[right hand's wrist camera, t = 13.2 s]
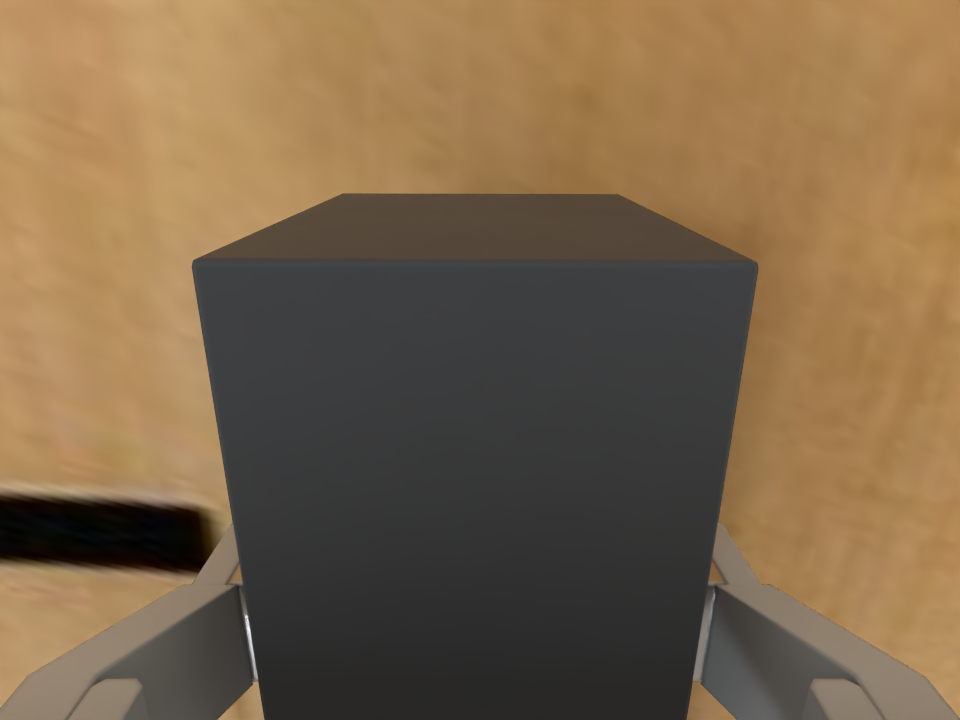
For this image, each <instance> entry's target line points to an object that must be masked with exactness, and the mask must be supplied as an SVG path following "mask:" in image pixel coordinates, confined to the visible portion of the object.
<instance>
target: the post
mask: <svg viewBox="0 0 960 720" xmlns="http://www.w3.org/2000/svg"><path fill="white" fill-rule="evenodd" d="M192 271H193V277H194V284H195V290H196V296H197V302H198V308H199V315H200V321H201V327H202V333H203V340H204V346H205V352H206V358H207V365H208V371H209V377H210V383H211V389H212V396H213V402H214V408H215V414H216V421H217V427H218V433H219V439H220V445H221V452H222V458H223V464H224V470H225V477H226V483H227V489H228V495H229V502H230V508H231V514H232V520H233V526H234V533H235V539H236V545H237V551H238V558H239V564H240V570H241V576H242V582H243V589H244V595H245V601H246V607H247V614H248V620H249V626H250V632H251V639H252V645H253V651H254V657H255V663H256V670H257V676H258V682H259V688H260V695H261V701H262V707H263V713H264V719H265V720H686V719H687V713H688V706H689V700H690V694H691V688H692V681H693V675H694V669H695V663H696V656H697V650H698V644H699V638H700V631H701V625H702V619H703V612H704V606H705V600H706V594H707V587H708V581H709V575H710V569H711V562H712V556H713V550H714V543H715V537H716V531H717V525H718V518H719V512H720V506H721V500H722V493H723V487H724V481H725V474H726V468H727V462H728V456H729V449H730V443H731V437H732V431H733V424H734V418H735V412H736V405H737V399H738V393H739V387H740V380H741V374H742V368H743V362H744V355H745V349H746V343H747V337H748V330H749V324H750V318H751V311H752V305H753V299H754V293H755V286H756V280H757V274H758V265H757V262H755V261H753V260H751V259H749V258H747V257H745V256H743V255H741V254H739V253H737V252H735V251H733V250H731V249H728V248H726V247H724V246H722V245H720V244H718V243H716V242H714V241H712V240H710V239H708V238H706V237H704V236H702V235H700V234H698V233H696V232H694V231H692V230H690V229H688V228H686V227H684V226H682V225H679V224H677V223H675V222H673V221H671V220H669V219H667V218H665V217H663V216H661V215H659V214H657V213H655V212H653V211H651V210H649V209H647V208H645V207H643V206H641V205H639V204H637V203H635V202H633V201H630V200H628V199H626V198H624V197H622V196H620V195H618V194H341V195H339V196H337V197H334V198H332V199H330V200H328V201H325V202H323V203H321V204H319V205H316V206H314V207H312V208H310V209H307V210H305V211H303V212H301V213H298V214H296V215H294V216H292V217H289V218H287V219H285V220H283V221H280V222H278V223H276V224H274V225H271V226H269V227H267V228H265V229H262V230H260V231H258V232H256V233H253V234H251V235H249V236H247V237H244V238H242V239H240V240H238V241H235V242H233V243H231V244H229V245H226V246H224V247H222V248H220V249H217V250H215V251H213V252H211V253H208V254H206V255H204V256H202V257H199V258H197V259H195V260H193V263H192Z"/></svg>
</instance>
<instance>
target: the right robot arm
mask: <svg viewBox="0 0 960 720" xmlns="http://www.w3.org/2000/svg"><path fill="white" fill-rule="evenodd" d="M252 681H258V676H257V670H256V663H255V657H254V651H253V645H252V639H251V632H250V626H249V620H248V614H247V607H246V601H245V595H244V589H243V582H242V576H241V570H240V564H239V558H238V551H237V545H236V539H235V533H234V526H233V524H231V525H230V526H229V528H228V529H227V531H226V532H225V534H224V535H223V537H222V538H221V540H220V542H219V543H218V545H217V546H216V548H215V549H214V551H213V552H212V554H211V556H210V557H209V559H208V560H207V562H206V563H205V565H204V566H203V568H202V570H201V571H200V573H199V574H198V576H197V577H196V579H195V580H194V582H193V584H192V585H181V586H180V587H178V588H176V589H174V590H173V591H171V592H169V593H168V594H166V595H164V596H163V597H161V598H159V599H157V600H156V601H154V602H152V603H151V604H149V605H147V606H145V607H144V608H142V609H140V610H139V611H137V612H135V613H134V614H132V615H130V616H128V617H127V618H125V619H123V620H122V621H120V622H118V623H117V624H115V625H113V626H111V627H110V628H108V629H106V630H105V631H103V632H101V633H100V634H98V635H96V636H94V637H93V638H91V639H89V640H88V641H86V642H84V643H82V644H81V645H79V646H77V647H76V648H74V649H72V650H71V651H69V652H67V653H65V654H64V655H62V656H60V657H59V658H57V659H55V660H54V661H52V662H50V663H48V664H47V665H45V666H43V667H42V668H40V669H38V670H36V671H35V672H33V673H31V674H30V675H28V676H27V677H26V678H25V679H24V681H23V682H22V683H21V684H20V685H19V687H18V688H17V689H16V690H15V691H14V693H13V694H12V695H11V696H10V697H9V699H8V700H7V701H6V702H5V703H4V705H3V706H2V707H1V708H0V720H217V719H218V718H219V717H220V716H221V715H222V714H223V713H224V712H225V711H226V710H227V709H228V708H229V707H230V706H231V705H232V704H233V703H234V702H235V701H236V700H238V699H239V698H240V697H241V696H242V695H243V694H244V693H245V692H246V691H247V690H248V689H249V688H250V687H251V686H252V685H253V683H252ZM693 681H701V684H702V685H703V686H704V687H705V688H706V689H707V690H708V691H709V692H710V693H711V694H712V695H713V696H714V697H715V698H716V699H717V700H718V701H719V702H720V703H721V704H722V705H723V706H724V707H725V708H726V709H727V710H728V711H729V712H730V713H731V714H732V715H733V716H734V717H735V718H736V719H737V720H960V718H959V717H958V716H957V714H956V713H955V712H954V711H953V710H952V708H951V707H950V706H949V705H948V703H947V702H946V701H945V700H944V699H943V697H942V696H941V695H940V694H939V692H938V691H937V690H936V689H935V688H934V686H933V685H932V684H931V683H930V681H929V680H928V679H927V678H926V677H925V676H924V675H922V674H920V673H919V672H917V671H915V670H913V669H912V668H910V667H908V666H907V665H905V664H903V663H902V662H900V661H898V660H897V659H895V658H893V657H892V656H890V655H888V654H887V653H885V652H883V651H882V650H880V649H878V648H877V647H875V646H873V645H871V644H870V643H868V642H866V641H865V640H863V639H861V638H860V637H858V636H856V635H855V634H853V633H851V632H850V631H848V630H846V629H845V628H843V627H841V626H840V625H838V624H836V623H834V622H833V621H831V620H829V619H828V618H826V617H824V616H823V615H821V614H819V613H818V612H816V611H814V610H813V609H811V608H809V607H808V606H806V605H804V604H803V603H801V602H799V601H797V600H796V599H794V598H792V597H791V596H789V595H787V594H786V593H784V592H782V591H781V590H779V589H777V588H776V587H774V586H772V585H762V584H761V583H760V581H759V580H758V578H757V576H756V575H755V573H754V572H753V570H752V569H751V567H750V565H749V564H748V562H747V561H746V559H745V558H744V556H743V554H742V553H741V551H740V550H739V548H738V547H737V545H736V543H735V542H734V540H733V539H732V537H731V536H730V534H729V532H728V531H727V529H726V528H725V526H724V525H723V524H722V523H720V522H719V521H718V525H717V531H716V537H715V543H714V550H713V556H712V562H711V569H710V575H709V581H708V587H707V594H706V600H705V606H704V612H703V619H702V625H701V631H700V638H699V644H698V650H697V656H696V663H695V669H694V675H693Z"/></svg>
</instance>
